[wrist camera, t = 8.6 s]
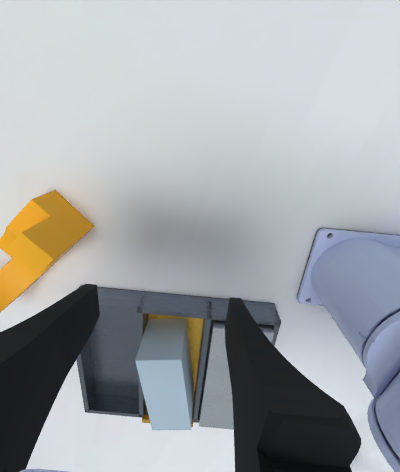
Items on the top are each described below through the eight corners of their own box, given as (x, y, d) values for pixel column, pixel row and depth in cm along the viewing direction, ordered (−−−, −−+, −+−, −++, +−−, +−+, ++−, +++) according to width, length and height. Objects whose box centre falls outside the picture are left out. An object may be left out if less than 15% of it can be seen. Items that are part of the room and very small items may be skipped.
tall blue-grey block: (186, 318, 25) (181, 359, 21) (193, 382, 29) (191, 430, 25) (148, 319, 25) (135, 360, 21) (161, 383, 29) (152, 430, 25)
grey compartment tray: (274, 303, 25) (283, 328, 22) (247, 405, 32) (251, 435, 28) (80, 285, 25) (62, 307, 22) (94, 391, 31) (82, 419, 28)
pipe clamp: (56, 189, 21) (-3, 212, 15) (94, 225, 22) (53, 259, 16) (-15, 265, 24) (-86, 308, 18) (22, 292, 26) (-33, 341, 20)
